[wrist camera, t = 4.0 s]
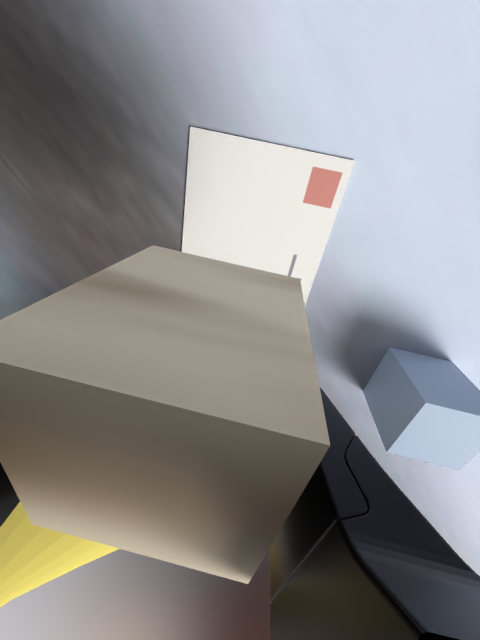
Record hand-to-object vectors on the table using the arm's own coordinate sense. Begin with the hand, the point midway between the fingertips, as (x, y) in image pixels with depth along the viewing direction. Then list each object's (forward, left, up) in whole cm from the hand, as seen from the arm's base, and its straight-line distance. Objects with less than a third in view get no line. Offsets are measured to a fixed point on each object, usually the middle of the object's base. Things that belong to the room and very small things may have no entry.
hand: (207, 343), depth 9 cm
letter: (0, 0, -11) cm, 11 cm away
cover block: (0, 0, -1) cm, 1 cm away
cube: (-7, -15, -12) cm, 20 cm away
